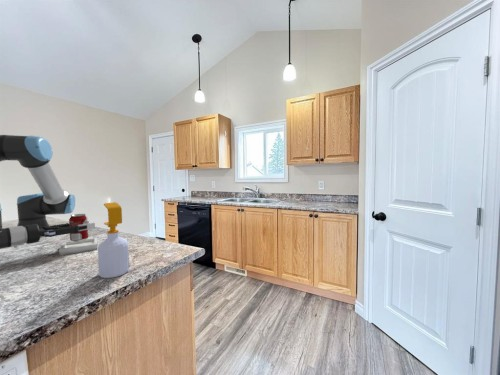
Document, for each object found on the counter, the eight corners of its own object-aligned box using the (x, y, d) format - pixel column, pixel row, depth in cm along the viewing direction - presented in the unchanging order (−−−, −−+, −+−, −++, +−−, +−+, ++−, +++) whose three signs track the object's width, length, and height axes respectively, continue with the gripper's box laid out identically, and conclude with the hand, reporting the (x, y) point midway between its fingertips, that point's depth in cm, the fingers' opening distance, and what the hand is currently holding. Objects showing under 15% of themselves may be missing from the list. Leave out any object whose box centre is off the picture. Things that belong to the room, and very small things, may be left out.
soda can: (81, 242, 102) (79, 216, 101) (66, 242, 102) (64, 216, 101) (91, 238, 109) (90, 213, 108) (77, 238, 109) (76, 213, 108)
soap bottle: (123, 265, 85) (120, 200, 84) (133, 271, 80) (131, 202, 78) (95, 273, 79) (92, 203, 77) (105, 281, 73) (101, 205, 71)
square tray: (63, 247, 108) (63, 241, 107) (97, 242, 115) (97, 237, 115) (59, 255, 96) (59, 249, 96) (97, 249, 104) (97, 244, 104)
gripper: (20, 240, 96) (84, 229, 115) (31, 248, 85) (100, 235, 103) (19, 222, 96) (83, 214, 115) (29, 229, 85) (99, 219, 103)
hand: (91, 224), depth 109 cm, fingers closed on soda can, 6 cm apart
